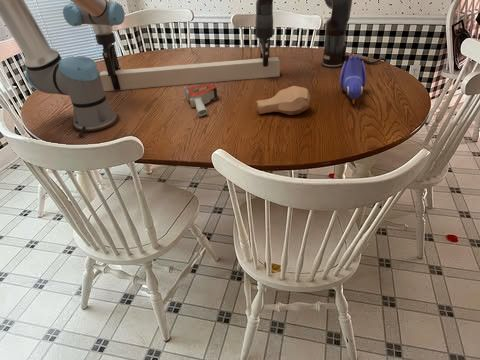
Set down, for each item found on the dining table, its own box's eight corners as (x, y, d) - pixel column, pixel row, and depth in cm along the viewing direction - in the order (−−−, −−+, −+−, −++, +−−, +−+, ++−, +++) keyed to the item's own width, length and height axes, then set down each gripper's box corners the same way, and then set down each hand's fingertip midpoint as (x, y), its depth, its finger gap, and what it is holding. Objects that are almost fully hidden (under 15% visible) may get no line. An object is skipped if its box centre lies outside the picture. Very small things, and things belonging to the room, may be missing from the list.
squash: (314, 116, 128) (313, 95, 122) (259, 125, 130) (256, 105, 124) (308, 99, 136) (307, 78, 129) (257, 108, 138) (253, 88, 131)
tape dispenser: (202, 122, 132) (232, 99, 144) (201, 109, 128) (231, 87, 141) (166, 111, 139) (197, 89, 152) (164, 98, 136) (196, 78, 148)
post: (103, 91, 159) (98, 75, 154) (105, 87, 163) (101, 71, 158) (279, 76, 162) (280, 60, 158) (277, 72, 166) (277, 56, 162)
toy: (338, 94, 152) (340, 108, 129) (340, 53, 145) (343, 60, 123) (362, 94, 149) (368, 108, 127) (365, 52, 143) (373, 58, 120)
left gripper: (108, 38, 140) (123, 94, 153) (117, 27, 154) (130, 79, 168) (89, 39, 139) (105, 95, 153) (99, 28, 154) (114, 80, 168)
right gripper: (275, 28, 145) (275, 67, 155) (270, 21, 157) (269, 58, 166) (257, 29, 145) (258, 69, 154) (253, 22, 156) (253, 59, 166)
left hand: (118, 86), depth 161 cm, fingers closed on post, 5 cm apart
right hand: (264, 63), depth 160 cm, fingers open, 8 cm apart
